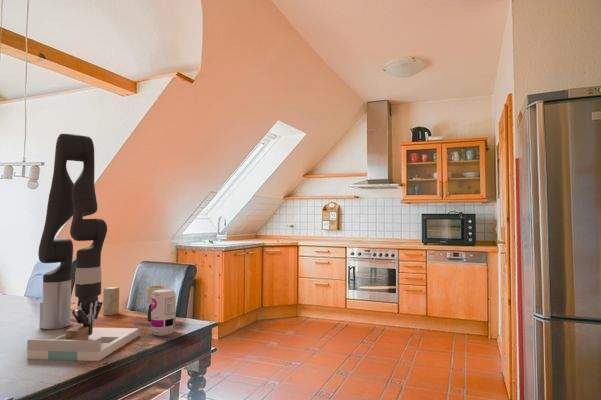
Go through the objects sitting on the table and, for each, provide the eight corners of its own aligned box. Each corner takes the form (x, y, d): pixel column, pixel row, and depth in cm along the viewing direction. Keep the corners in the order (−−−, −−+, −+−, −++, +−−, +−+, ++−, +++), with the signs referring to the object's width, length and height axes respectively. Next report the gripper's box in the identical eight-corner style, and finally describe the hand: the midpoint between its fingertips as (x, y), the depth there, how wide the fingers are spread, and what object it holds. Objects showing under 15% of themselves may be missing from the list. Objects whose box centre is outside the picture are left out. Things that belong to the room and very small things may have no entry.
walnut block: (65, 345, 121) (65, 330, 122) (75, 340, 126) (75, 326, 126) (79, 346, 121) (79, 331, 121) (88, 341, 125) (88, 326, 126)
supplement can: (151, 337, 137) (152, 293, 138) (150, 331, 145) (150, 289, 145) (176, 334, 141) (176, 291, 141) (173, 328, 148) (174, 287, 149)
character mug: (169, 320, 160) (170, 287, 160) (152, 323, 155) (152, 289, 155) (158, 315, 168) (158, 284, 168) (141, 318, 163) (141, 286, 163)
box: (111, 315, 167) (111, 288, 168) (102, 315, 168) (102, 288, 169) (119, 312, 173) (119, 286, 173) (110, 312, 173) (111, 286, 174)
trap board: (27, 358, 117) (27, 339, 117) (79, 334, 141) (79, 318, 141) (98, 360, 115) (98, 341, 116) (138, 335, 139) (139, 319, 139)
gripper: (89, 277, 135) (88, 328, 135) (63, 284, 122) (62, 341, 122) (110, 277, 135) (110, 329, 134) (87, 284, 122) (86, 342, 121)
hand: (87, 335), depth 128 cm, fingers closed
